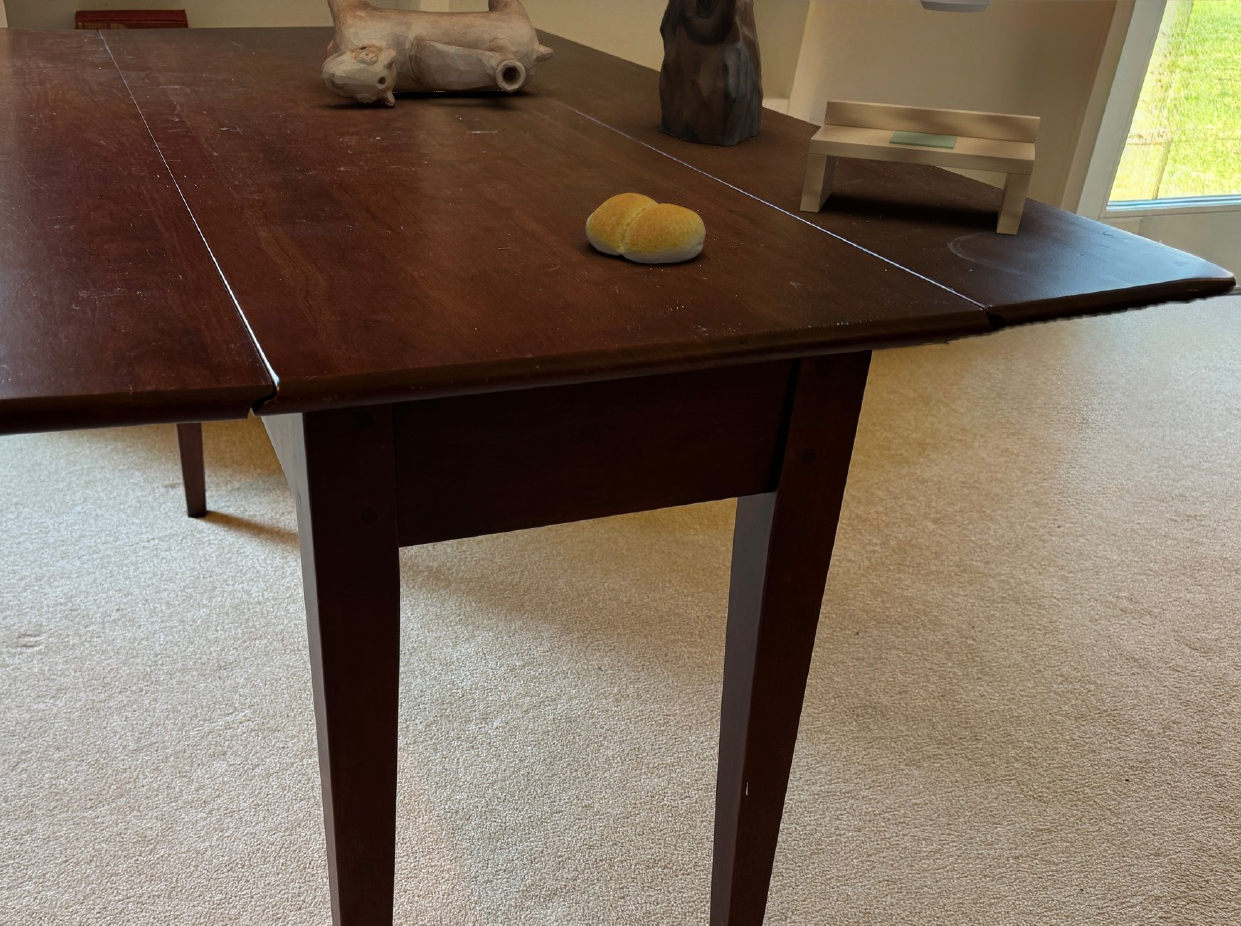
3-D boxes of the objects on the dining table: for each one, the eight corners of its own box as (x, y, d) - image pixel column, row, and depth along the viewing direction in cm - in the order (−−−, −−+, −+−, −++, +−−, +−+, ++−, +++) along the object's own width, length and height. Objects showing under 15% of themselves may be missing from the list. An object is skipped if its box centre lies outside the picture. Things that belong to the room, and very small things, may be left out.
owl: (731, 149, 123) (755, -63, 113) (624, 136, 128) (637, -69, 118) (765, 131, 133) (790, -65, 123) (664, 120, 138) (680, -70, 127)
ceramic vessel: (305, -39, 147) (328, 6, 128) (534, -13, 156) (587, 33, 137) (303, 67, 155) (324, 124, 136) (521, 86, 164) (569, 142, 145)
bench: (1017, 211, 102) (1040, 116, 98) (1016, 235, 95) (1041, 133, 91) (815, 190, 107) (828, 99, 103) (799, 211, 100) (814, 113, 96)
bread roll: (667, 273, 83) (672, 217, 80) (569, 249, 87) (571, 195, 85) (726, 250, 88) (732, 197, 86) (630, 229, 93) (634, 178, 91)
